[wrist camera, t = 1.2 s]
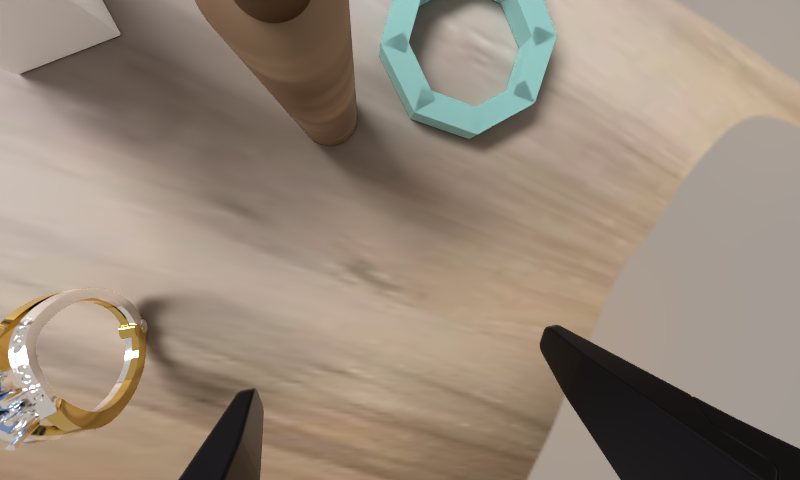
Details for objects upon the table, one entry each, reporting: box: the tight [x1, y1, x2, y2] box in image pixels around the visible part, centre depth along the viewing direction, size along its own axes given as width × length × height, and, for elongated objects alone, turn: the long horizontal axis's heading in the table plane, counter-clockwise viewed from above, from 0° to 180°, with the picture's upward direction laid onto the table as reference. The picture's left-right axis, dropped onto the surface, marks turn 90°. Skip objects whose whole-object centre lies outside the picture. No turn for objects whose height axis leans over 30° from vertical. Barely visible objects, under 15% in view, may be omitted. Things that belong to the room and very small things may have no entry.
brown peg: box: [195, 0, 357, 146], centre depth 12 cm, size 4×4×14 cm
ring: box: [0, 288, 148, 450], centre depth 15 cm, size 7×3×8 cm, turn 5°
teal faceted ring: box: [379, 0, 557, 139], centre depth 18 cm, size 10×10×2 cm
